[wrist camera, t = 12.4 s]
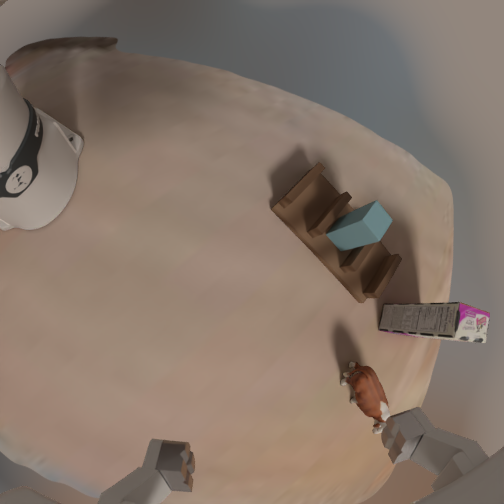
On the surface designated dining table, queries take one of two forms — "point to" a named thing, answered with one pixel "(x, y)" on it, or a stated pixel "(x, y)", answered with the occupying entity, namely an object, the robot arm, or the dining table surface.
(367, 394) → the bull figurine
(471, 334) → the candy bar box
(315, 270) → the dining table surface
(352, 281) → the rack
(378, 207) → the teal rectangular block
